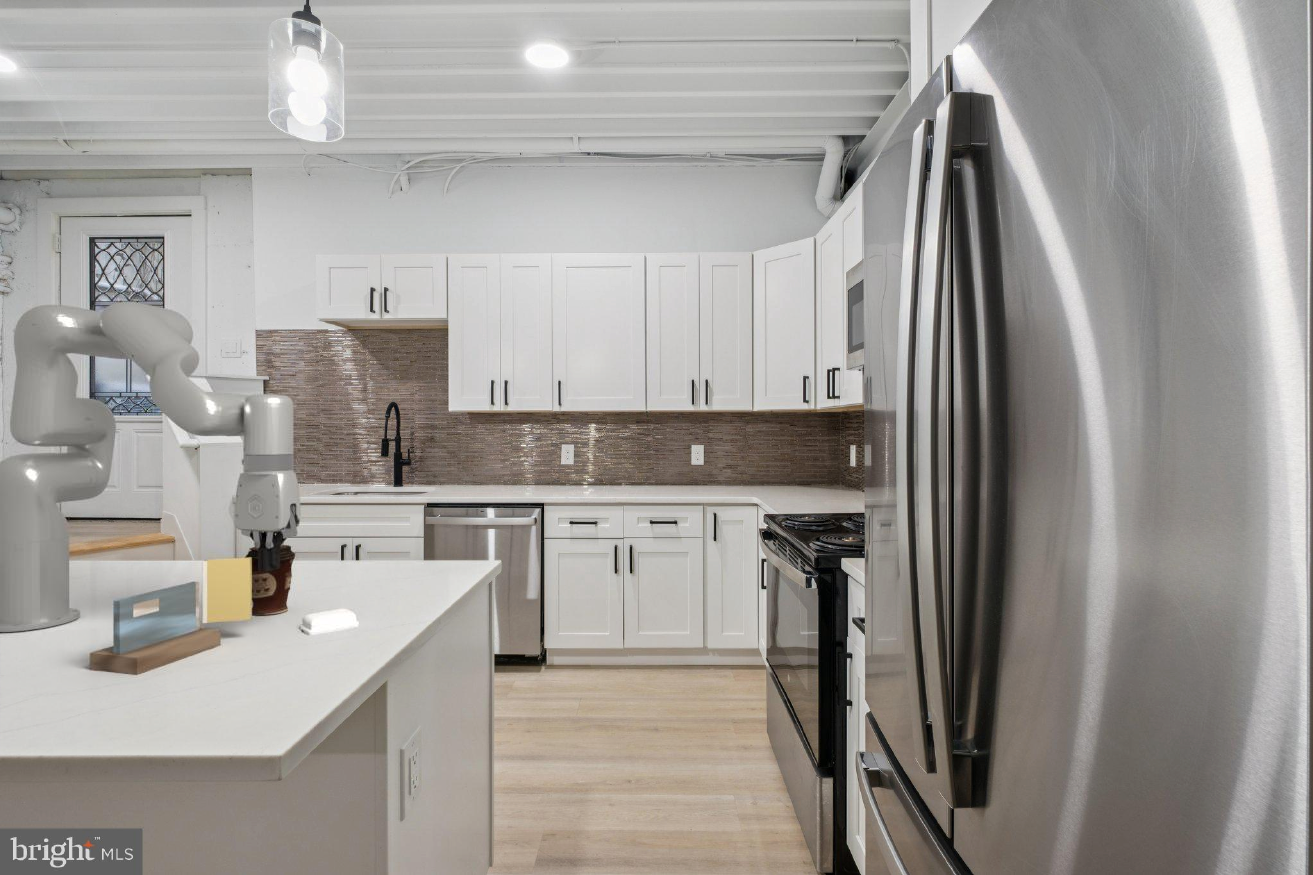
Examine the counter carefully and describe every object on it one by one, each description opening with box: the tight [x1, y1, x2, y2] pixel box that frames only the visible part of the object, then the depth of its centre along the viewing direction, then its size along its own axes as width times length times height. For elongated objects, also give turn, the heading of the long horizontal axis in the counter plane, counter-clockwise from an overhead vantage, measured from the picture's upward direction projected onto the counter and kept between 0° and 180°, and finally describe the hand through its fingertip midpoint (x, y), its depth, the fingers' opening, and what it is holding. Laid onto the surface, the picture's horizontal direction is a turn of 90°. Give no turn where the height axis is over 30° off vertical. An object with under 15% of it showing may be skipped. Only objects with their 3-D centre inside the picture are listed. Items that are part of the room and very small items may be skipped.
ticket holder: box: [89, 581, 222, 676], centre depth 105 cm, size 9×14×10 cm, turn 166°
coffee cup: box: [244, 544, 296, 616], centre depth 131 cm, size 9×8×13 cm
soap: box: [299, 608, 360, 636], centre depth 121 cm, size 9×7×3 cm
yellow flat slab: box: [201, 557, 253, 624], centre depth 113 cm, size 1×7×10 cm, turn 108°
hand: (269, 569), depth 115 cm, fingers closed
